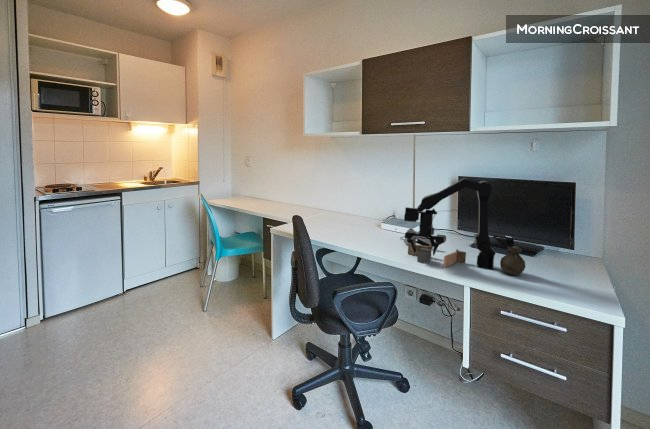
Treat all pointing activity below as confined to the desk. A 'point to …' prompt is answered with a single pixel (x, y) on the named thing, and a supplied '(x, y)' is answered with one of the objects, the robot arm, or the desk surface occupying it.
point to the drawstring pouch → (513, 261)
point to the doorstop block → (423, 255)
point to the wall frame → (460, 254)
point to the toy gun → (420, 240)
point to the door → (450, 259)
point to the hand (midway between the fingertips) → (424, 253)
